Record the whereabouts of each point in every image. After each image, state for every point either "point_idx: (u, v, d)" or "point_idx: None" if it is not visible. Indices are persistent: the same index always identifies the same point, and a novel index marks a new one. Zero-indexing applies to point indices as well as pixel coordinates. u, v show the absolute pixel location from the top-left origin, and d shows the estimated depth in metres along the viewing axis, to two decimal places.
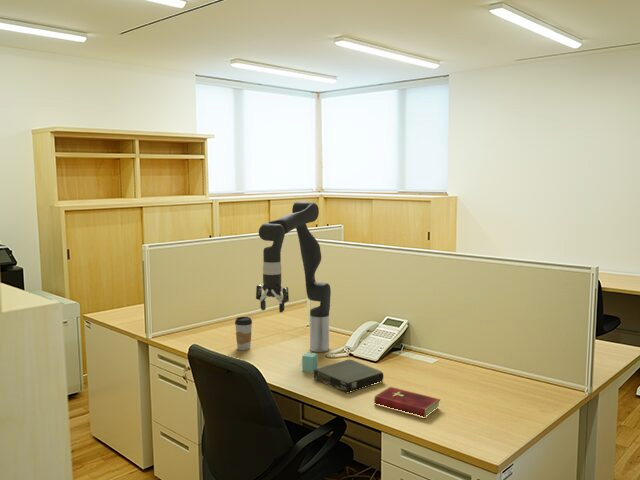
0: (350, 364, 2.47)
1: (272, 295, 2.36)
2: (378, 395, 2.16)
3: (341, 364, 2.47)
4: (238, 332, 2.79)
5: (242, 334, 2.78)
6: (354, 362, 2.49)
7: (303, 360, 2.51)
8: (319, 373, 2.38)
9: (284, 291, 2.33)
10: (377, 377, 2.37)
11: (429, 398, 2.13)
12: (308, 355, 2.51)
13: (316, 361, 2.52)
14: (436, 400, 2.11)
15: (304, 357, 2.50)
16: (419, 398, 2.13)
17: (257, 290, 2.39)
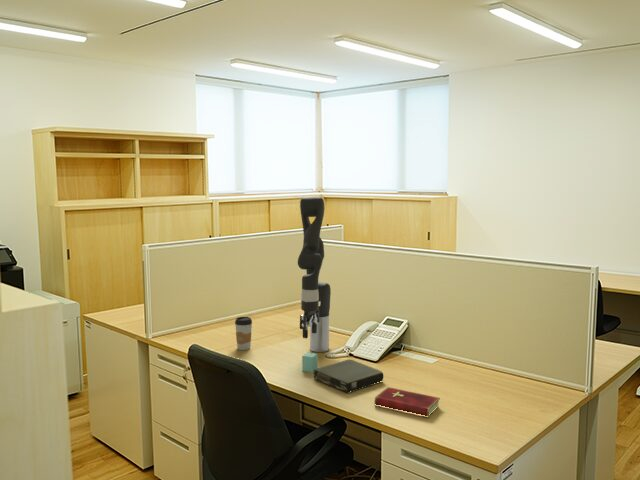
0: (350, 364, 2.47)
1: (312, 320, 2.50)
2: (378, 396, 2.15)
3: (341, 364, 2.47)
4: (238, 332, 2.79)
5: (242, 334, 2.78)
6: (354, 362, 2.49)
7: (303, 360, 2.51)
8: (319, 373, 2.38)
9: (318, 312, 2.55)
10: (377, 377, 2.37)
11: (429, 397, 2.14)
12: (308, 355, 2.51)
13: (316, 361, 2.52)
14: (436, 399, 2.12)
15: (304, 357, 2.50)
16: (419, 398, 2.13)
17: (305, 320, 2.44)
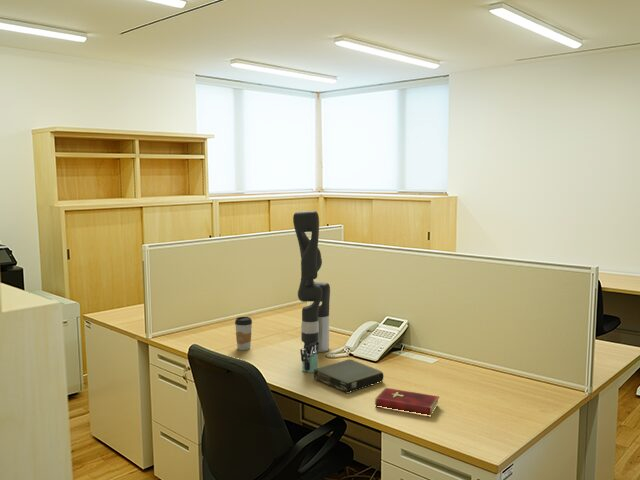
0: (350, 364, 2.47)
1: (312, 351, 2.51)
2: (378, 397, 2.14)
3: (341, 364, 2.47)
4: (238, 332, 2.79)
5: (242, 334, 2.78)
6: (354, 362, 2.49)
7: None
8: (319, 373, 2.38)
9: (318, 345, 2.57)
10: (377, 377, 2.36)
11: (428, 396, 2.15)
12: None
13: (316, 361, 2.52)
14: (436, 397, 2.14)
15: None
16: (419, 397, 2.14)
17: (306, 354, 2.46)
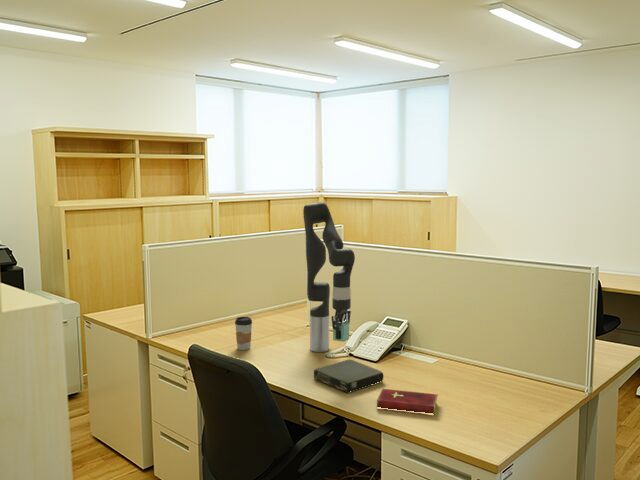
0: (350, 364, 2.47)
1: (343, 319, 2.38)
2: (379, 399, 2.12)
3: (341, 364, 2.47)
4: (238, 332, 2.79)
5: (242, 334, 2.78)
6: (354, 362, 2.49)
7: None
8: (319, 373, 2.38)
9: (350, 313, 2.43)
10: (377, 377, 2.36)
11: (427, 395, 2.16)
12: None
13: (347, 330, 2.39)
14: (435, 396, 2.15)
15: None
16: (419, 396, 2.15)
17: (337, 321, 2.33)
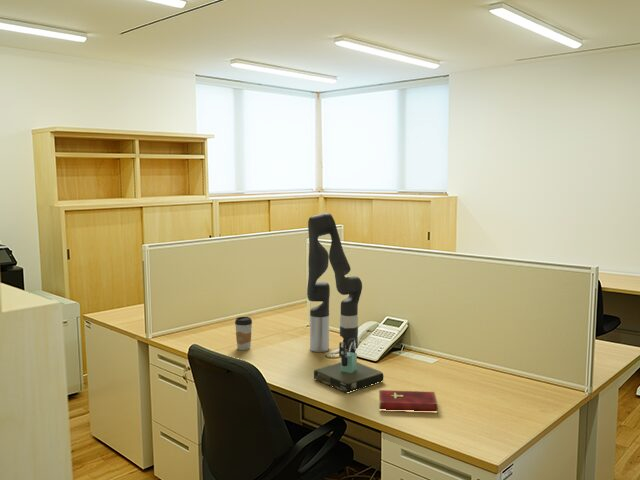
0: None
1: (351, 346, 2.39)
2: (381, 400, 2.11)
3: None
4: (238, 332, 2.79)
5: (242, 334, 2.78)
6: None
7: None
8: (319, 374, 2.38)
9: (357, 338, 2.44)
10: (377, 377, 2.36)
11: (425, 393, 2.18)
12: None
13: (355, 361, 2.40)
14: (433, 393, 2.18)
15: None
16: (418, 395, 2.16)
17: (345, 348, 2.32)
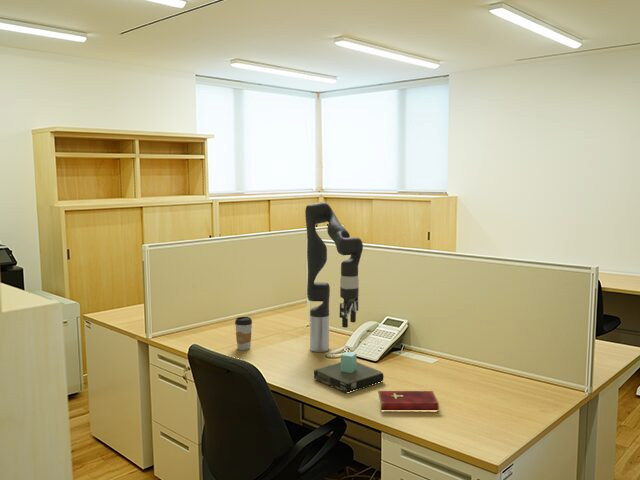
0: None
1: (352, 308, 2.37)
2: (383, 401, 2.10)
3: None
4: (238, 332, 2.79)
5: (242, 334, 2.78)
6: None
7: (342, 359, 2.38)
8: (319, 373, 2.38)
9: (357, 300, 2.42)
10: (377, 377, 2.36)
11: (424, 392, 2.19)
12: (347, 354, 2.38)
13: (355, 361, 2.40)
14: (432, 392, 2.19)
15: (343, 356, 2.38)
16: (418, 394, 2.16)
17: (345, 308, 2.30)
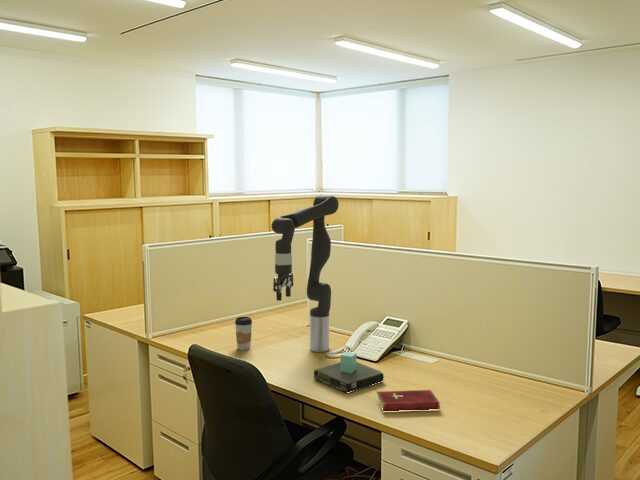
0: None
1: (286, 283, 2.58)
2: (384, 402, 2.09)
3: None
4: (238, 332, 2.79)
5: (242, 334, 2.78)
6: None
7: (342, 359, 2.38)
8: (319, 373, 2.38)
9: (292, 276, 2.63)
10: (378, 377, 2.36)
11: (422, 391, 2.20)
12: (347, 354, 2.38)
13: (355, 361, 2.39)
14: (430, 391, 2.20)
15: (342, 357, 2.37)
16: (417, 394, 2.17)
17: (278, 283, 2.52)
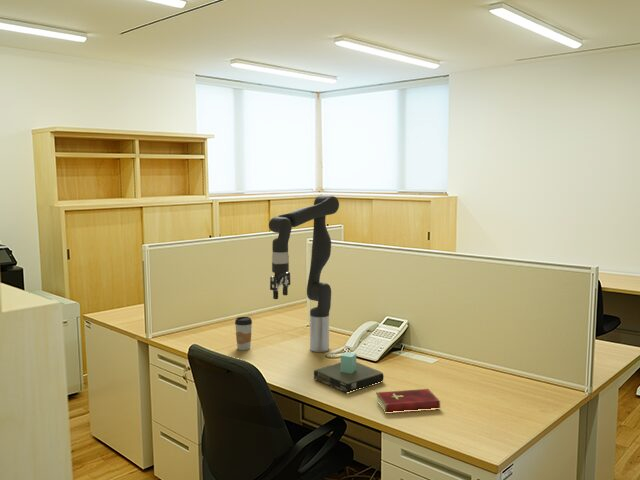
0: None
1: (283, 282, 2.59)
2: (386, 403, 2.09)
3: None
4: (238, 332, 2.79)
5: (242, 334, 2.78)
6: None
7: (342, 360, 2.38)
8: (319, 374, 2.38)
9: (289, 275, 2.64)
10: (377, 377, 2.36)
11: (421, 390, 2.20)
12: (347, 355, 2.38)
13: (355, 361, 2.39)
14: (428, 390, 2.21)
15: (343, 357, 2.37)
16: (416, 393, 2.17)
17: (275, 281, 2.53)
